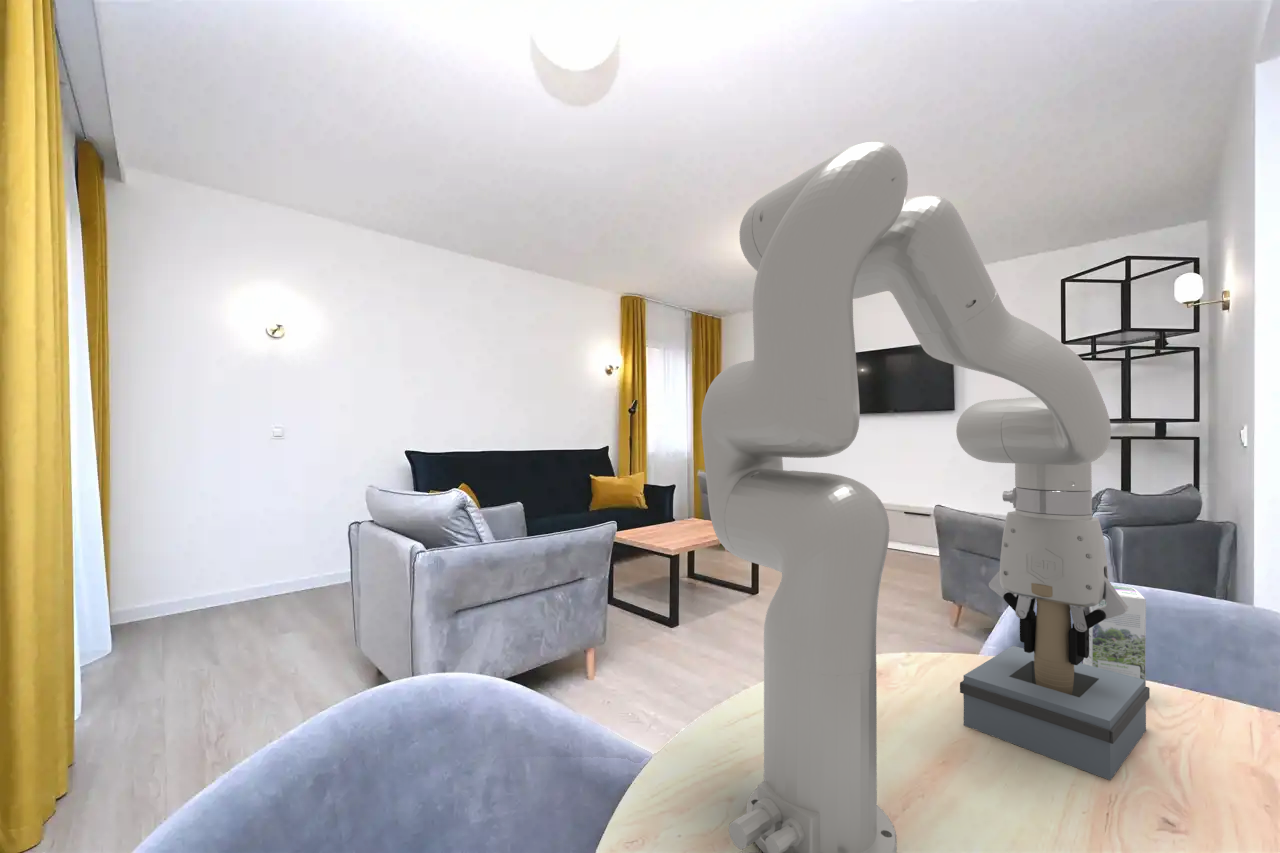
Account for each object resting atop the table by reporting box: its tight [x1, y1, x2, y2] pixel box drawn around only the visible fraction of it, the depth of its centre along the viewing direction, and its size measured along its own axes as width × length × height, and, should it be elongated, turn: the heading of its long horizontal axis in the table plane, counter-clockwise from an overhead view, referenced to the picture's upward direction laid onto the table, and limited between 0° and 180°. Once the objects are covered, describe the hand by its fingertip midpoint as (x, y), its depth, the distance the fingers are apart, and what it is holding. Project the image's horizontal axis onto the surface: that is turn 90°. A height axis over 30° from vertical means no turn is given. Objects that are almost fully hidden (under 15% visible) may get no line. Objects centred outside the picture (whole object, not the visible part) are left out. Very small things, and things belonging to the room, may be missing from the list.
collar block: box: [959, 645, 1151, 781], centre depth 68 cm, size 17×15×6 cm
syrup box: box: [1081, 584, 1147, 680], centre depth 77 cm, size 6×6×14 cm
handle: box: [1031, 583, 1074, 695], centre depth 69 cm, size 5×6×15 cm
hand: (1053, 654), depth 68 cm, fingers closed on handle, 3 cm apart
